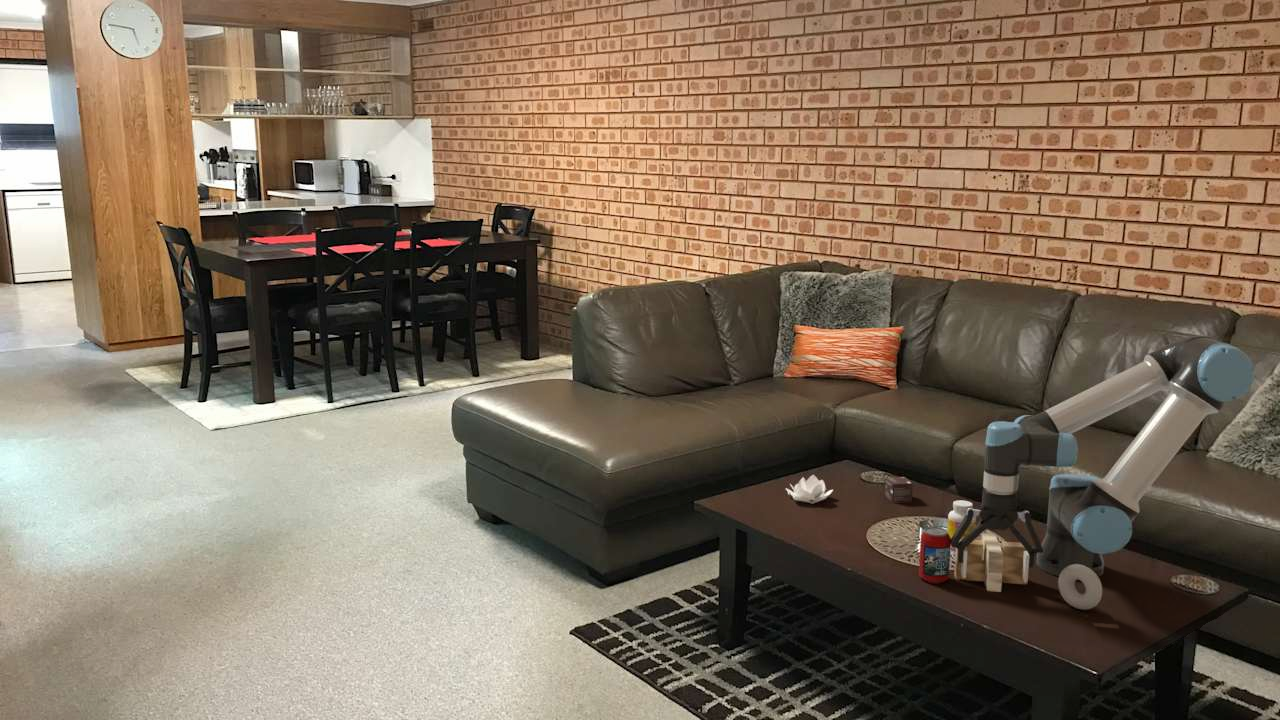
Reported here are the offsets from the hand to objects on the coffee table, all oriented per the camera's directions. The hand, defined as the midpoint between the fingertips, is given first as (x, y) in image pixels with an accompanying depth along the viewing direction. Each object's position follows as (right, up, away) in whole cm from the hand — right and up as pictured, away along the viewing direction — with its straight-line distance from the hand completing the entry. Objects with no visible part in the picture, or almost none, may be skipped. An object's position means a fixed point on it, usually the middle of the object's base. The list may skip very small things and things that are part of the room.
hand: (993, 578), depth 242 cm
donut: (+15, -5, -11) cm, 19 cm away
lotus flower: (-33, +9, +57) cm, 67 cm away
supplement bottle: (-1, +2, +22) cm, 22 cm away
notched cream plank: (+1, -1, +5) cm, 5 cm away
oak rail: (+1, -1, +5) cm, 5 cm away
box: (-8, +9, +58) cm, 59 cm away
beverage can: (-13, -1, +5) cm, 14 cm away
